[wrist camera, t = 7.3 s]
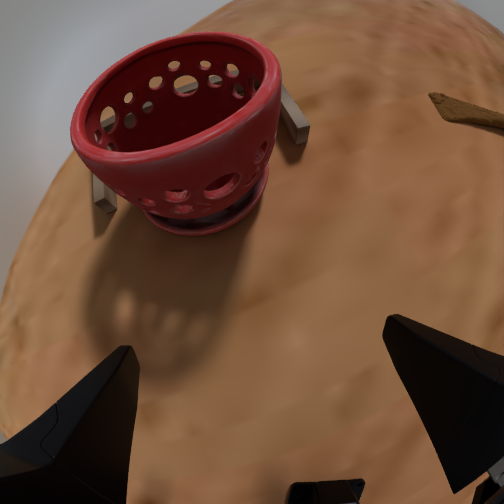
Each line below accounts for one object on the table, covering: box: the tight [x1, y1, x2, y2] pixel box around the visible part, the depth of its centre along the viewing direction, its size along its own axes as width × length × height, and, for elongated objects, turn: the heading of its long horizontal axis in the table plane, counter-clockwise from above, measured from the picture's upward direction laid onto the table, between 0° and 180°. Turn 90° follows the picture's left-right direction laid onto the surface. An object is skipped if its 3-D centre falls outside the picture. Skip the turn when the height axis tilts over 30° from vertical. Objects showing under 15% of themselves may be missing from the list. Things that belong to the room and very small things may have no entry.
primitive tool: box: [428, 93, 504, 129], centre depth 24 cm, size 19×6×4 cm, turn 95°
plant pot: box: [70, 32, 282, 236], centre depth 18 cm, size 13×13×12 cm
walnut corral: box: [93, 70, 310, 213], centre depth 24 cm, size 11×20×2 cm, turn 109°
